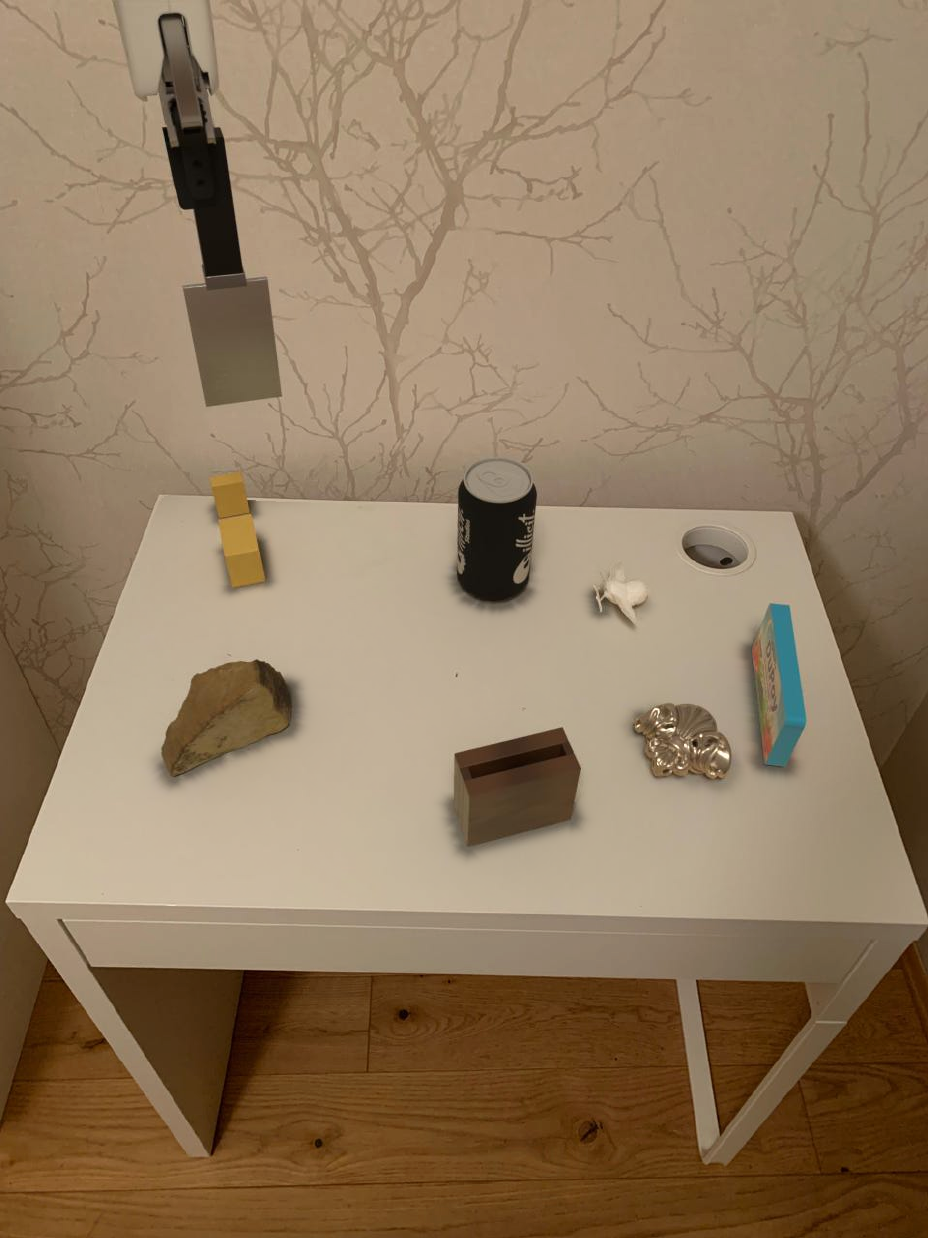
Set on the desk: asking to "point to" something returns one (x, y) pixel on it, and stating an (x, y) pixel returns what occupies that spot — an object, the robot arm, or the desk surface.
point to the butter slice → (229, 494)
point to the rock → (226, 713)
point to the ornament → (684, 741)
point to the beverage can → (495, 528)
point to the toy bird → (622, 591)
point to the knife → (230, 312)
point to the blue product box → (778, 686)
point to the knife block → (515, 786)
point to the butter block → (241, 550)
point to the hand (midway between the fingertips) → (201, 195)
